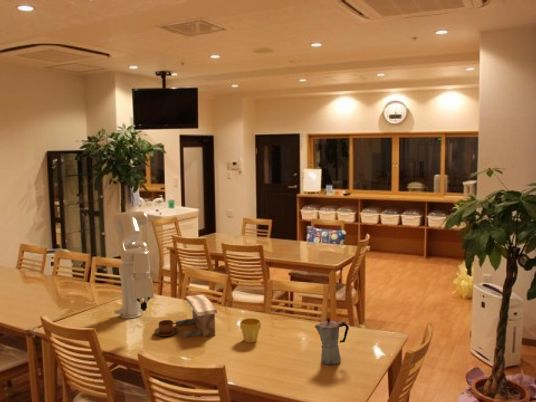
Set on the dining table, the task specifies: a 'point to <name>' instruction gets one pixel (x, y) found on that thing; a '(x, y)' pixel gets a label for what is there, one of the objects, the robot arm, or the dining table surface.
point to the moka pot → (330, 340)
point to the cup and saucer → (166, 328)
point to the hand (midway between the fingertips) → (143, 310)
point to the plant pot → (250, 329)
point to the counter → (200, 317)
